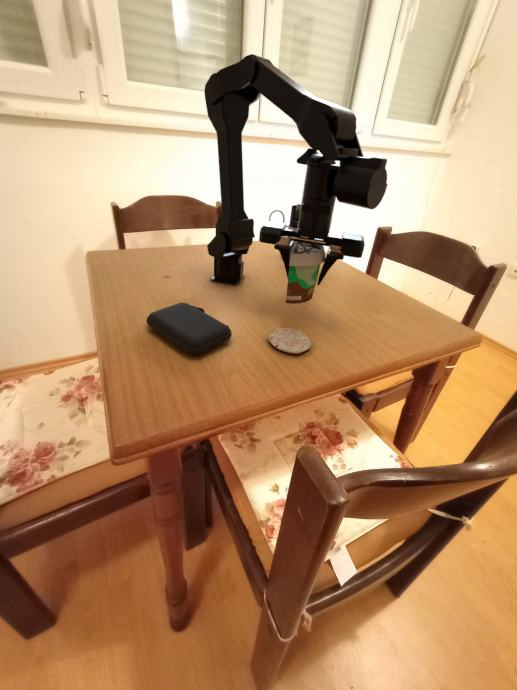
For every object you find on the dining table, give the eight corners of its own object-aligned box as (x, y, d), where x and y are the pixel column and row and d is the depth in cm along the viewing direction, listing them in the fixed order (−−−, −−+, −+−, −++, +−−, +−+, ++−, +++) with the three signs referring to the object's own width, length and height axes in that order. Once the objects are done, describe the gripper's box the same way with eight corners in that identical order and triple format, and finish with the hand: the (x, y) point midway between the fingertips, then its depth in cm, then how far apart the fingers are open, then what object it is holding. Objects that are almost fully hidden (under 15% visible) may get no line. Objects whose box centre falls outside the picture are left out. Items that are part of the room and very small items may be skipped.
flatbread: (262, 334, 58) (262, 329, 58) (297, 328, 61) (298, 324, 60) (280, 359, 52) (281, 354, 52) (319, 352, 55) (320, 347, 54)
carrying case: (240, 338, 56) (189, 309, 64) (241, 324, 55) (189, 295, 62) (193, 363, 50) (142, 326, 57) (193, 347, 48) (140, 312, 55)
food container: (316, 310, 58) (326, 258, 53) (284, 306, 59) (290, 254, 54) (319, 286, 69) (327, 240, 63) (291, 282, 69) (297, 236, 64)
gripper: (371, 197, 59) (350, 276, 68) (275, 185, 62) (267, 261, 70) (375, 207, 50) (350, 296, 58) (262, 192, 53) (255, 279, 61)
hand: (303, 282), depth 62 cm, fingers closed on food container, 5 cm apart
